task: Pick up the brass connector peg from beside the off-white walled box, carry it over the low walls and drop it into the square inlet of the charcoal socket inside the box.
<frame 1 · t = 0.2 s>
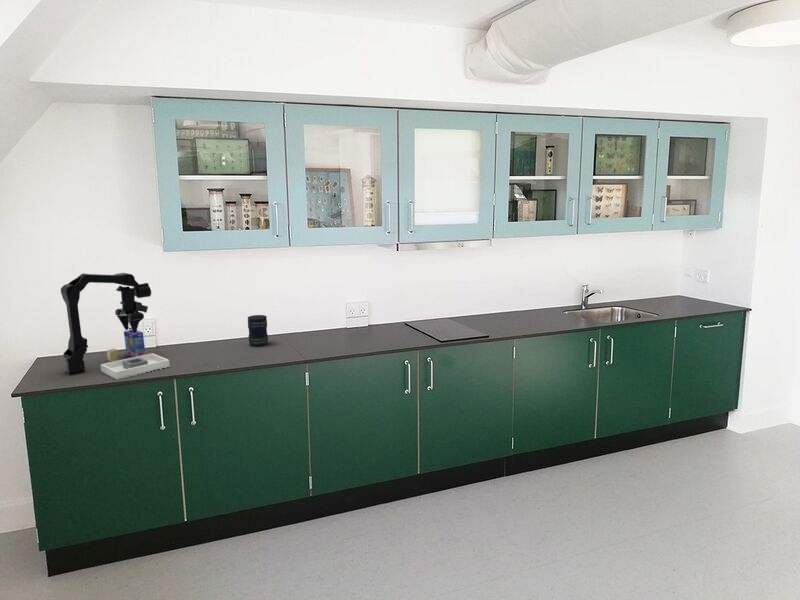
hand: (130, 331, 290), 14 cm above the worktop, tool pointing down, fingers open, 9 cm apart
walled box: (135, 369, 276), on the worktop
ink cartridge box: (135, 355, 299), on the worktop
storage jar: (258, 345, 316), on the worktop
connector peg: (113, 362, 288), on the worktop
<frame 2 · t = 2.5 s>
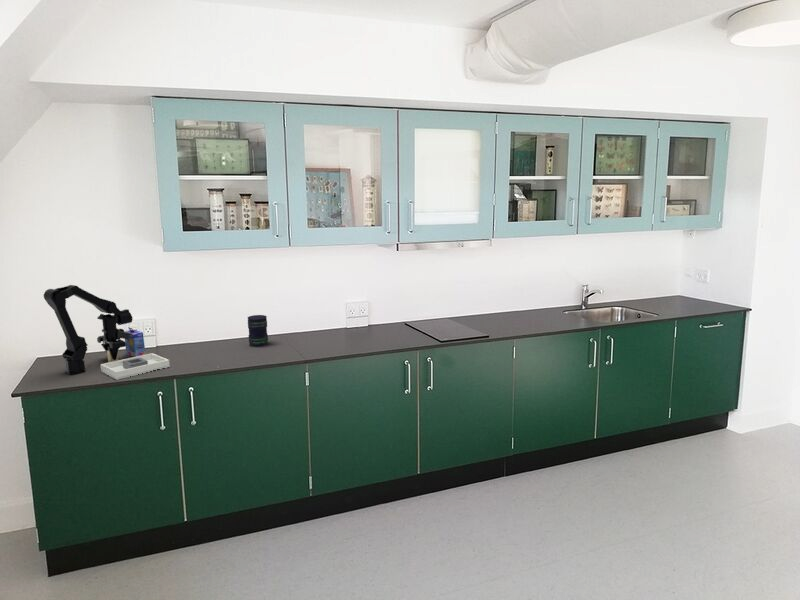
hand: (113, 358, 288), 2 cm above the worktop, tool pointing down, fingers closed on connector peg, 4 cm apart
connector peg: (113, 362, 288), on the worktop, touching gripper
everything else where it was.
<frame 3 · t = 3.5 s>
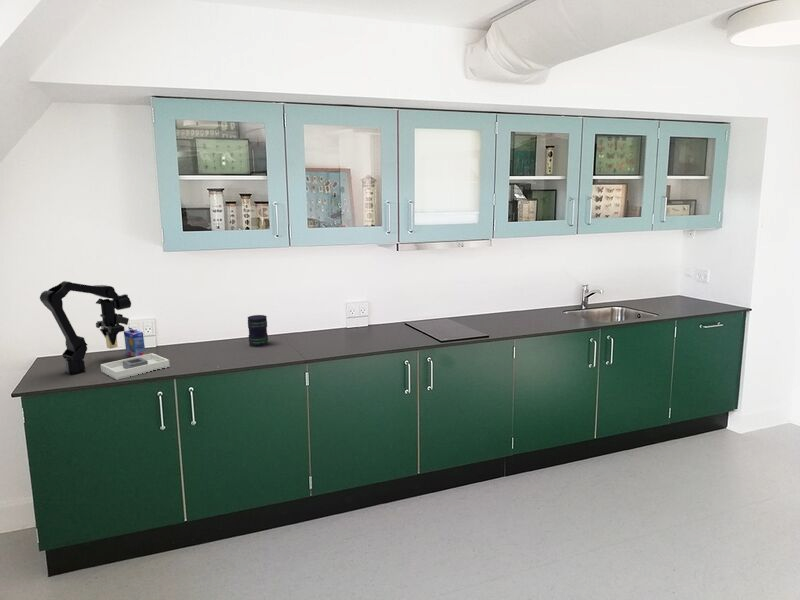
hand: (111, 344, 287), 9 cm above the worktop, tool pointing down, fingers closed on connector peg, 4 cm apart
connector peg: (112, 347, 287), point 7 cm above the worktop, touching gripper
everything else where it was.
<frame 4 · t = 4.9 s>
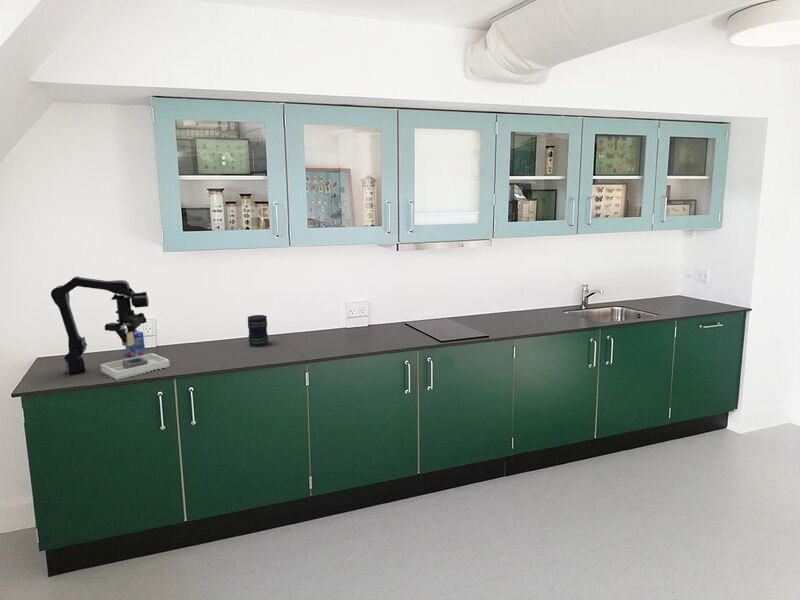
hand: (128, 341, 277), 12 cm above the worktop, tool pointing down, fingers closed on connector peg, 4 cm apart
connector peg: (128, 344, 278), point 11 cm above the worktop, touching gripper
everything else where it was.
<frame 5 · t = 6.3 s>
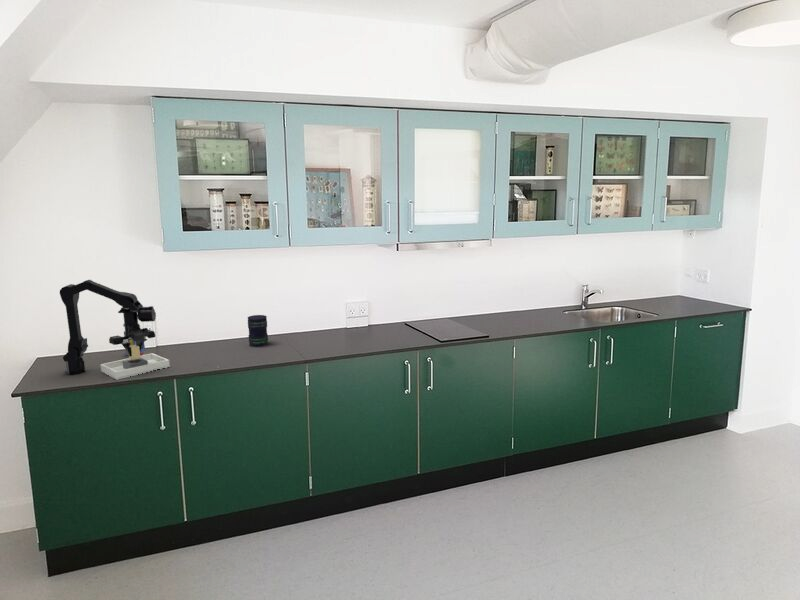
hand: (134, 355, 275), 7 cm above the worktop, tool pointing down, fingers closed on connector peg, 4 cm apart
connector peg: (134, 358, 275), point 5 cm above the worktop, touching gripper
everything else where it was.
when the fingers open (4 cm above the worktop, at t = 7.5 s): connector peg drops 1 cm, resting on walled box.
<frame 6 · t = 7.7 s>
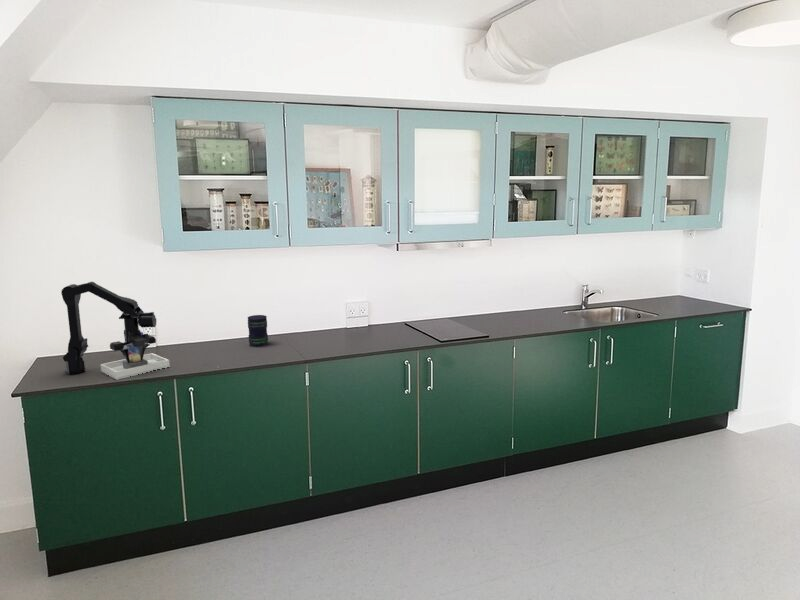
hand: (135, 361, 275), 4 cm above the worktop, tool pointing down, fingers open, 6 cm apart
connector peg: (135, 367, 276), point 1 cm above the worktop, touching walled box
everything else where it was.
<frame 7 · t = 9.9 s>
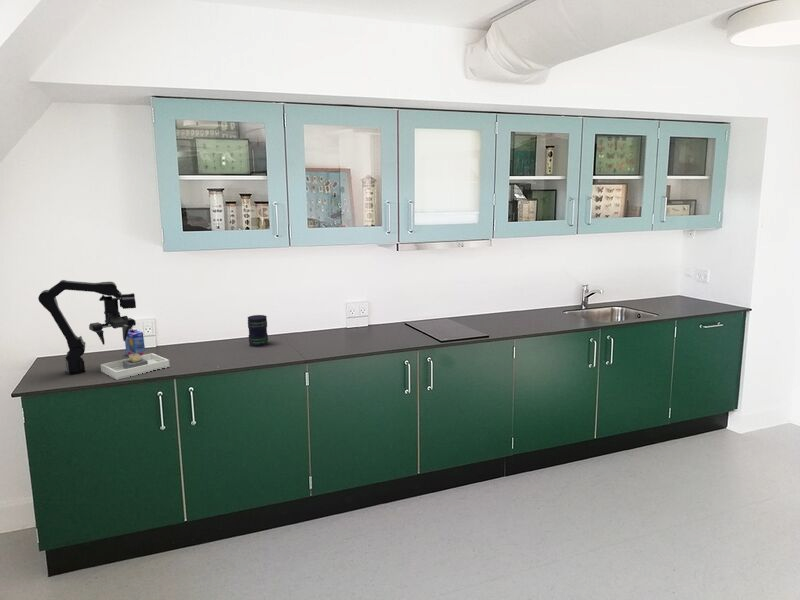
hand: (114, 342, 278), 12 cm above the worktop, tool pointing down, fingers open, 9 cm apart
nothing on the worktop moved.
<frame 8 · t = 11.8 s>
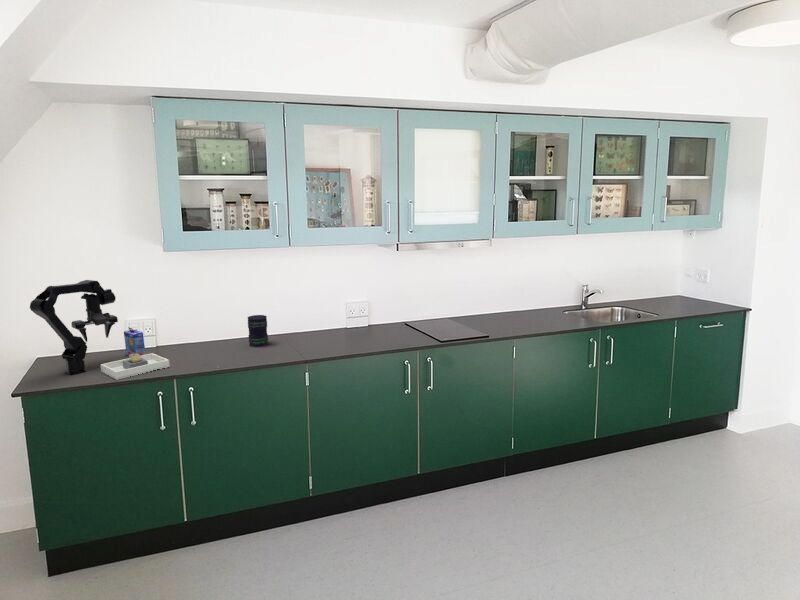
hand: (96, 339, 282), 12 cm above the worktop, tool pointing down, fingers open, 9 cm apart
nothing on the worktop moved.
at the end: connector peg 0.0 cm off-centre on the walled box, point 1.0 cm above the walled box's base; connector peg tilted 0°; the gripper is holding nothing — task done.
